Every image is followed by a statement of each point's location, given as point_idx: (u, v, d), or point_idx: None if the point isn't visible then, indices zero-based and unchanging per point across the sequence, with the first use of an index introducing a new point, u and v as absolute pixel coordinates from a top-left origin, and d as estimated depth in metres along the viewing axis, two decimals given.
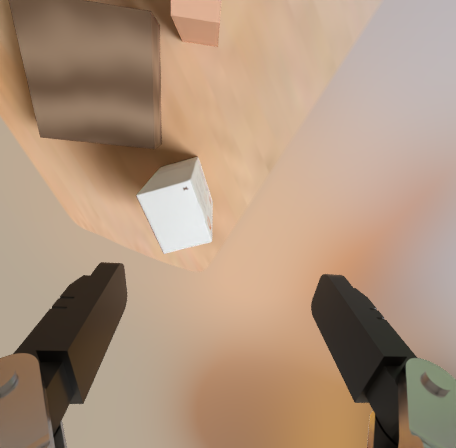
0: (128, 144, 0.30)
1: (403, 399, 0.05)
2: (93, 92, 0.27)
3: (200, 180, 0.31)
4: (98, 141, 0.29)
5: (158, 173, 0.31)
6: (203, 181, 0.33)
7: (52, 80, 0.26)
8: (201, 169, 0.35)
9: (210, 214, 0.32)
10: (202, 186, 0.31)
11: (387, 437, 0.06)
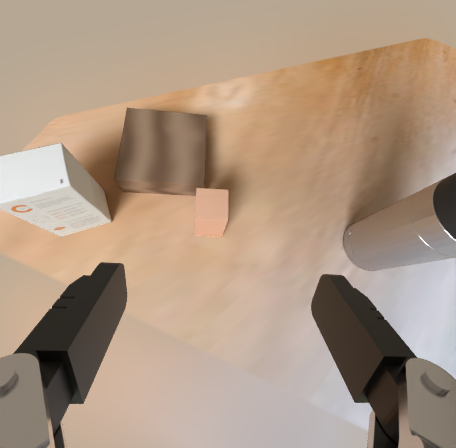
0: (119, 160, 0.37)
1: (403, 399, 0.05)
2: (156, 144, 0.39)
3: (79, 212, 0.32)
4: (122, 141, 0.38)
5: (92, 179, 0.35)
6: (81, 220, 0.34)
7: (163, 124, 0.40)
8: (97, 222, 0.36)
9: (37, 219, 0.30)
10: (73, 214, 0.32)
11: (387, 437, 0.06)
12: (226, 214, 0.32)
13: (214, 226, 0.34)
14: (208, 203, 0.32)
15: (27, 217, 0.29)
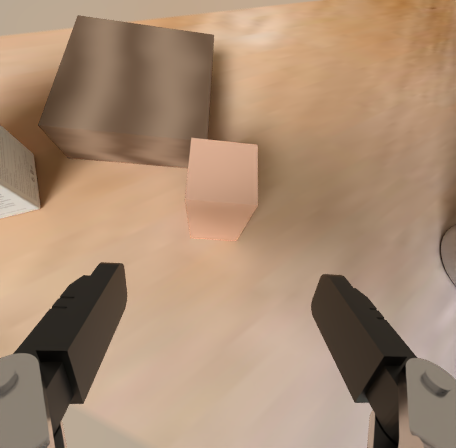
0: (51, 94, 0.20)
1: (403, 399, 0.05)
2: (123, 73, 0.22)
3: None
4: (62, 64, 0.21)
5: None
6: None
7: (138, 42, 0.23)
8: (6, 208, 0.20)
9: None
10: None
11: (387, 437, 0.06)
12: (254, 194, 0.15)
13: (225, 220, 0.17)
14: (215, 170, 0.15)
15: None
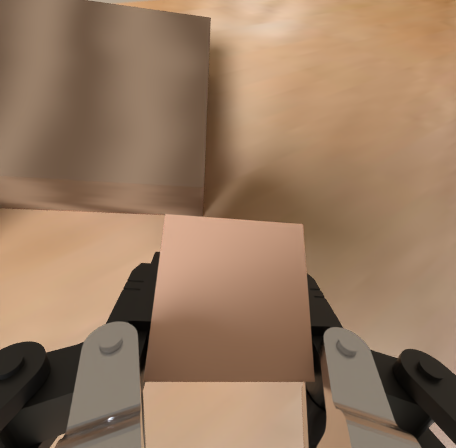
0: None
1: (325, 372, 0.06)
2: (69, 77, 0.14)
3: None
4: None
5: None
6: None
7: (95, 29, 0.15)
8: None
9: None
10: None
11: (317, 406, 0.06)
12: (304, 350, 0.06)
13: None
14: (216, 294, 0.07)
15: None
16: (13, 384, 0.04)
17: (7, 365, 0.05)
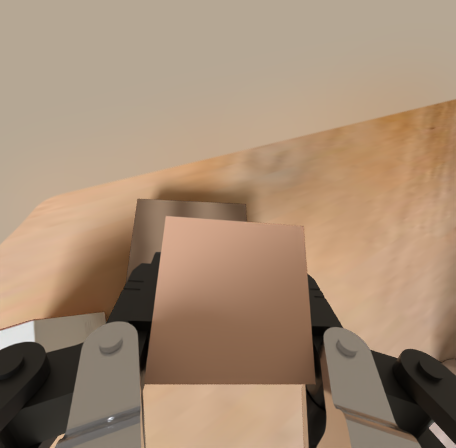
0: None
1: (325, 372, 0.06)
2: None
3: None
4: (131, 253, 0.27)
5: (87, 322, 0.24)
6: None
7: None
8: None
9: None
10: None
11: (317, 406, 0.06)
12: (305, 353, 0.06)
13: None
14: (217, 296, 0.07)
15: None
16: (13, 384, 0.04)
17: (7, 365, 0.05)
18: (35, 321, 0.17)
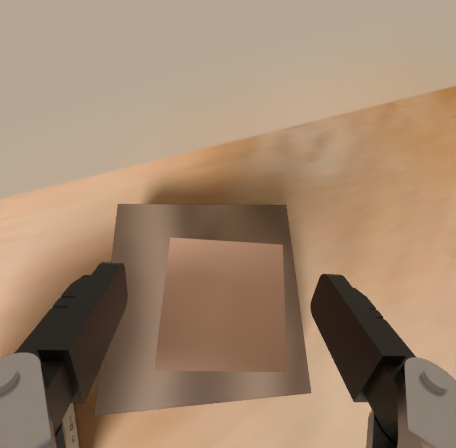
0: None
1: (402, 398, 0.05)
2: None
3: None
4: None
5: None
6: None
7: (199, 236, 0.18)
8: None
9: None
10: None
11: (386, 436, 0.06)
12: (279, 348, 0.08)
13: None
14: (210, 303, 0.08)
15: None
16: None
17: None
18: None
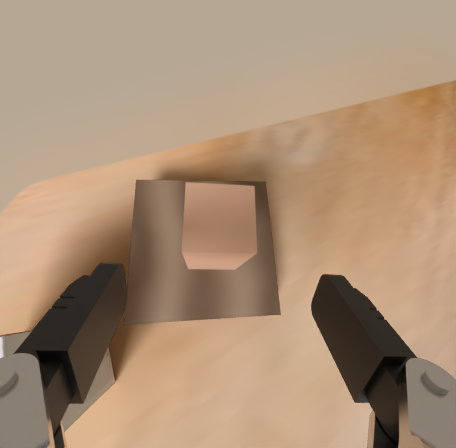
0: (130, 284, 0.21)
1: (403, 399, 0.05)
2: None
3: None
4: (133, 244, 0.22)
5: None
6: None
7: None
8: None
9: None
10: None
11: (387, 437, 0.06)
12: (252, 241, 0.14)
13: (224, 260, 0.17)
14: (212, 217, 0.14)
15: None
16: None
17: None
18: (5, 337, 0.12)
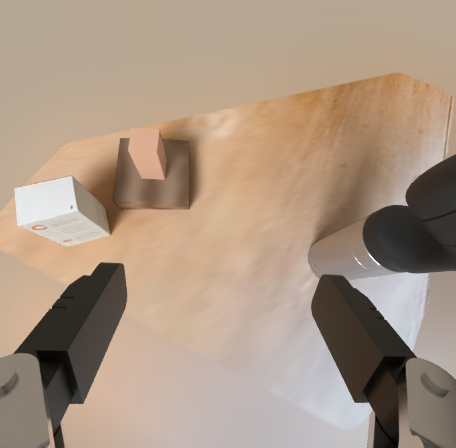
0: (115, 184, 0.44)
1: (403, 399, 0.05)
2: None
3: (84, 228, 0.39)
4: (117, 167, 0.46)
5: (95, 201, 0.42)
6: (85, 234, 0.41)
7: None
8: (98, 235, 0.44)
9: (50, 234, 0.37)
10: (78, 230, 0.39)
11: (387, 437, 0.06)
12: (155, 148, 0.38)
13: (150, 162, 0.40)
14: (140, 140, 0.38)
15: (42, 233, 0.36)
16: None
17: None
18: (72, 176, 0.35)
